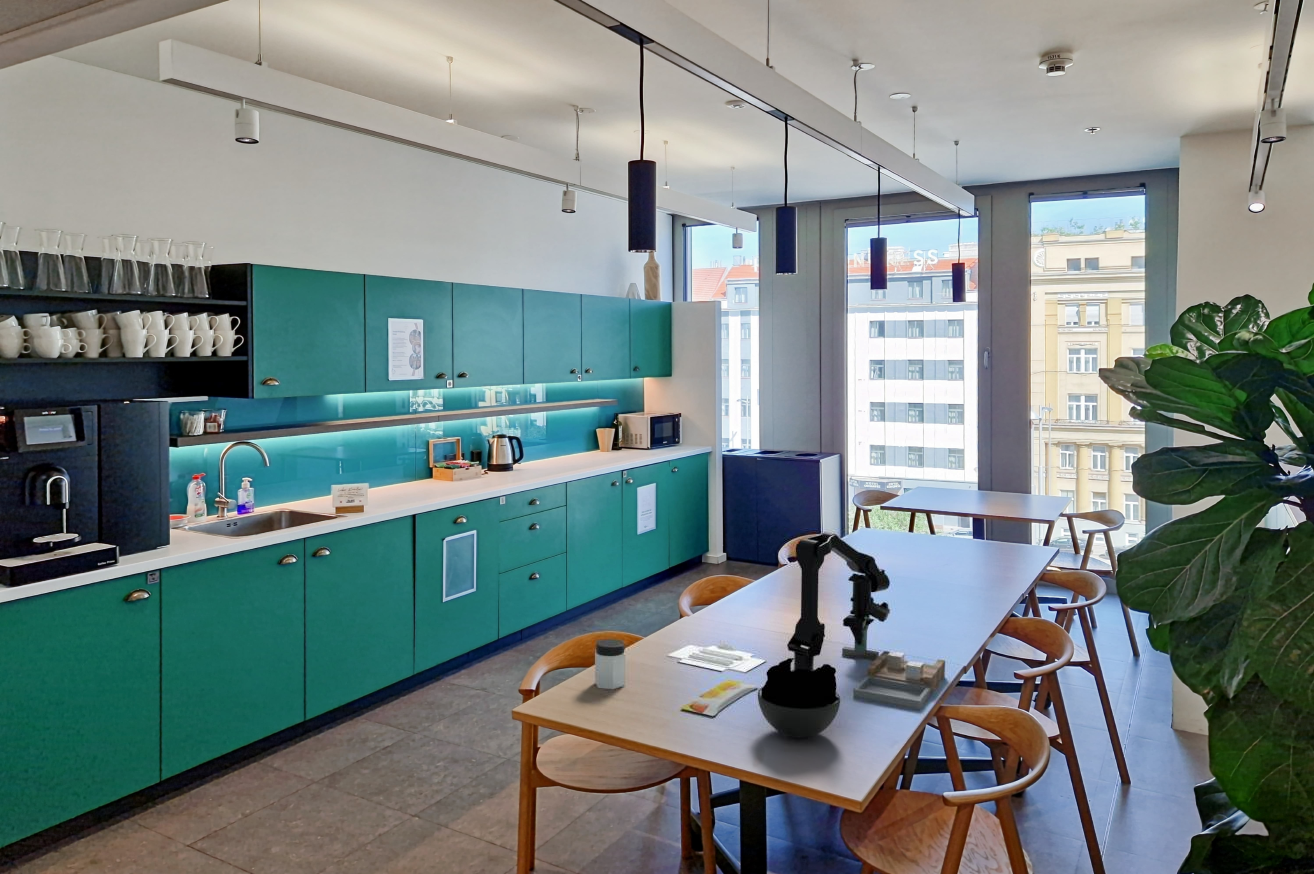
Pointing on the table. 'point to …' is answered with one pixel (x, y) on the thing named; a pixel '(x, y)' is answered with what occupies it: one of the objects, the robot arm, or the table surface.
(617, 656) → the jar
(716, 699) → the food package
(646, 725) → the table surface
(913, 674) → the light grey cube
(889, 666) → the white cube
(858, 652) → the rake tool
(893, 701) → the tray
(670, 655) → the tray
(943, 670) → the slot block
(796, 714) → the coal bowl
